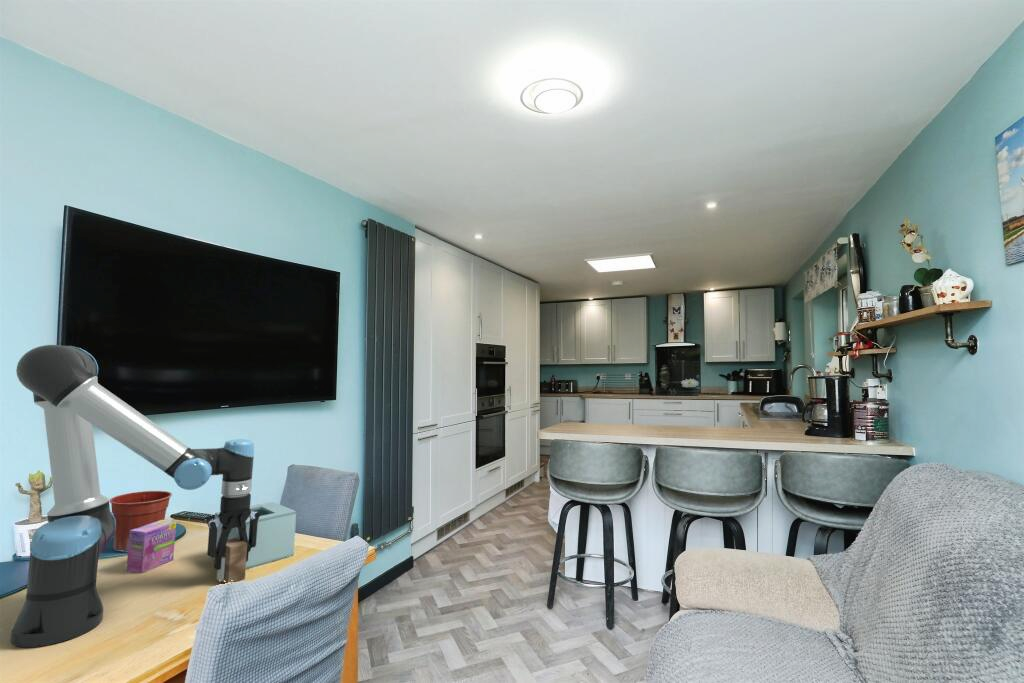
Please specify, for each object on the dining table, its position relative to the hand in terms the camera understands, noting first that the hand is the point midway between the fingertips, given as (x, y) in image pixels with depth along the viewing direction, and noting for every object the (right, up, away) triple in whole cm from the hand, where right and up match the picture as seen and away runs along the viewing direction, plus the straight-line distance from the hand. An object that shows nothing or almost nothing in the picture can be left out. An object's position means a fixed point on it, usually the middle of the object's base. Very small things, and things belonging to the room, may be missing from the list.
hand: (230, 577), depth 136 cm
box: (-28, 0, +7) cm, 29 cm away
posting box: (-2, -1, +15) cm, 16 cm away
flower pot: (-43, 0, +21) cm, 48 cm away
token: (0, 0, 0) cm, 0 cm away
